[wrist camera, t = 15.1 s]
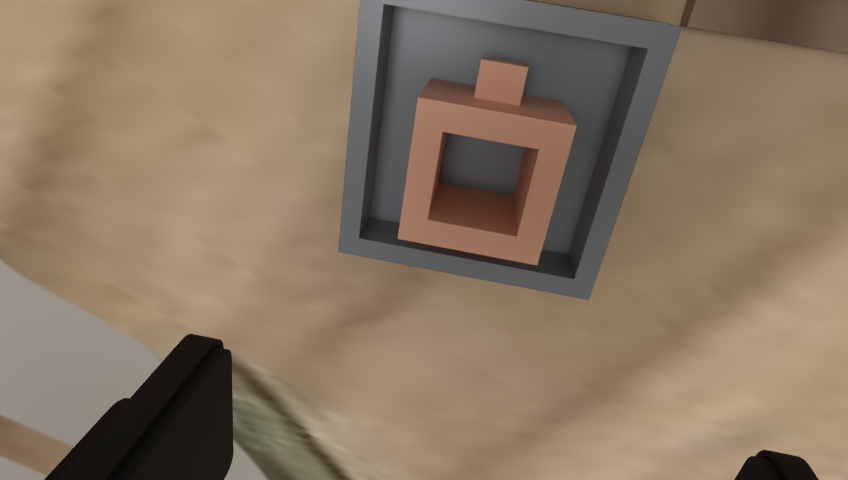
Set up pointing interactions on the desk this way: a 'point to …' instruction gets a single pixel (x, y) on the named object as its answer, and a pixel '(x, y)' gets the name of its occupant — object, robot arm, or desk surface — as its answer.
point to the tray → (489, 160)
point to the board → (775, 20)
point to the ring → (496, 121)
